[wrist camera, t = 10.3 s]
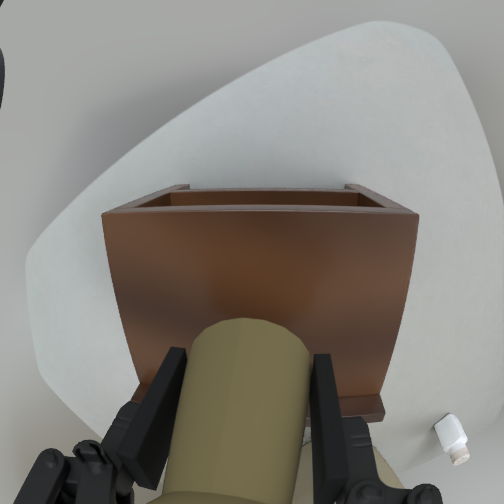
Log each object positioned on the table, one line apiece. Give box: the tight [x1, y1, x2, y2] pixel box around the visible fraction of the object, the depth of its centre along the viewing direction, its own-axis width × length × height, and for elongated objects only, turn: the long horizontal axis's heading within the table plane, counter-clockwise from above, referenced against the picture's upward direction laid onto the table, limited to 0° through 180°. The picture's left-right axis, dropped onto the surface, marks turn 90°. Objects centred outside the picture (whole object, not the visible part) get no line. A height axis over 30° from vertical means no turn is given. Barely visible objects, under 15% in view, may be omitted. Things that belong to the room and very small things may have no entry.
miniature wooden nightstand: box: [101, 184, 419, 427], centre depth 23 cm, size 14×18×16 cm
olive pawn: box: [147, 318, 312, 504], centre depth 8 cm, size 6×6×11 cm
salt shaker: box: [434, 414, 470, 466], centre depth 33 cm, size 4×4×10 cm
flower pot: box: [292, 441, 405, 504], centre depth 33 cm, size 19×19×17 cm
